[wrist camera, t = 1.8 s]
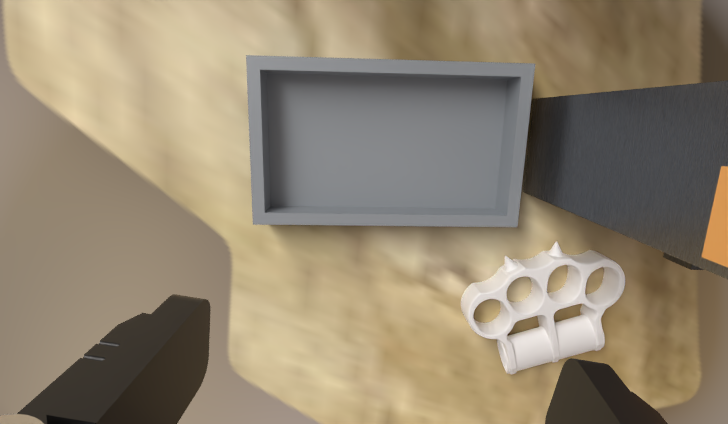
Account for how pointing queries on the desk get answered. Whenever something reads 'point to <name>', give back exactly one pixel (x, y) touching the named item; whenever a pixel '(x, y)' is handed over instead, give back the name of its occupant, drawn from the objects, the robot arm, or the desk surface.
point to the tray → (387, 141)
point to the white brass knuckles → (546, 307)
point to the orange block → (718, 223)
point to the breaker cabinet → (635, 162)
